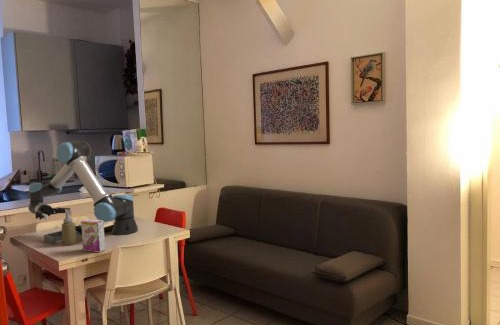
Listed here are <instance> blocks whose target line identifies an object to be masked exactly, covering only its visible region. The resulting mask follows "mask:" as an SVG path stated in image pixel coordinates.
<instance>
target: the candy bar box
mask: <svg viewBox="0 0 500 325" xmlns="http://www.w3.org/2000/svg"><path fill="white" fill-rule="evenodd" d="M104 223H105V222H103V220H98V219H84V220H81V221H80V226H81V228H80V229H81V238H82V239H81V240H82V241H81V242H82V251H83V250H91V251H102V250H104V251H105V249H106V240H105V239H106V237H105V225H104ZM102 252H103V251H102Z"/></svg>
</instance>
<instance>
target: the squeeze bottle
mask: <svg viewBox="0 0 500 325" xmlns="http://www.w3.org/2000/svg"><path fill="white" fill-rule="evenodd" d="M70 216H71V215H69V213H66V214H65V218H64V219H63V220H62V221H63V223H62V224H61V231H62V241H63V244H65V245H64V246H72V245H75V244H76V242H77V238H78V235H77V229H76V225H75V222H73V218H71V217H70ZM71 244H72V245H71Z"/></svg>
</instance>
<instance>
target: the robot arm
mask: <svg viewBox="0 0 500 325" xmlns="http://www.w3.org/2000/svg"><path fill="white" fill-rule="evenodd" d="M91 156H92V148H91V146H90V144H89V143H88V142H86V141H82V140H77V141H66V142H62V143H60V144H59V145H58V146H57V148H56V158H57V160H58V161H59V162H60V163H63V166H62V167H61V168H60V169H59V170H58V172H57V173H56V174H55V175H54V176H53V178H52V179H51V180H50V181H49V182H48V183H45V184H43V183H42V182H33V183H30V184H29V185H28V192H29V203H28V207H27V209H28V211H29V212H30V213H32V214H34V215H35V219H36V220H42V219H43V220H46V221H49V217H50V216H52V215H57V214H65V215H66V213H69V216H72V210H71V208H70V207H58V206H57V207H52V206H51V205H49V204H46V203H44V197H48V196H52V195H56V194H60V193H61V192H62V189H63V186H64V185H65V183H66V182H67V181H68V180H69V179H70V178H71V177H72V176H73V174H76V177H78V179H79V181H80V182H81V184H82V185H83V187H84V188H85V190H86V192H87V193H88V195H89V196H90V197H91V199H92V200H93V207H94V208H93V211H94V212H93V214H94V216H95V218H96V220H103V222H104V223H108V222H113V221H114V223H113V227H112V234H113V235H116V236H117V235H121V236H123V235H131V234H134V233H136V232H138V231H139V226H138V225H137V222H136V219H135V209H134V208H135V207H134V198H133V196H132V195H130V194H115V195H112V194H111V193H108V192H107V191H106V189H105V188H104V186H103V184H102V183H101V182H100V180H99V179H98V177H97V176H96V174H95V173H94V171H93V170H92V168H91V166H90V165H89V163H88V160H89V159H90V157H91Z"/></svg>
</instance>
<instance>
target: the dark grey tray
mask: <svg viewBox="0 0 500 325" xmlns="http://www.w3.org/2000/svg"><path fill="white" fill-rule="evenodd" d="M43 241H44V242H46V243H48V242H49V244H51V243H52V244H51V245H53V244H55V245H57V244H58V243H59V244H62V242H63V241H62V230H59V231H54V232H50V233H46V234H43Z"/></svg>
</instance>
